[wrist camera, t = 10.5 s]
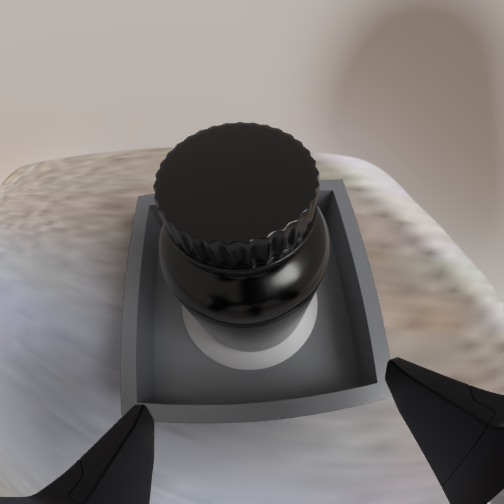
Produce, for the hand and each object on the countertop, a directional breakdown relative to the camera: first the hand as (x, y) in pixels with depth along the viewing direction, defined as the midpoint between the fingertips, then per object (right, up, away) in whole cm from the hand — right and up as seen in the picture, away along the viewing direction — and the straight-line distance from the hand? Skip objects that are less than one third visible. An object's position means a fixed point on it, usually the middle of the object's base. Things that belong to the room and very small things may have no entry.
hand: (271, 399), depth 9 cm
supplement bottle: (-1, +2, +10) cm, 10 cm away
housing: (-1, +1, +11) cm, 11 cm away
